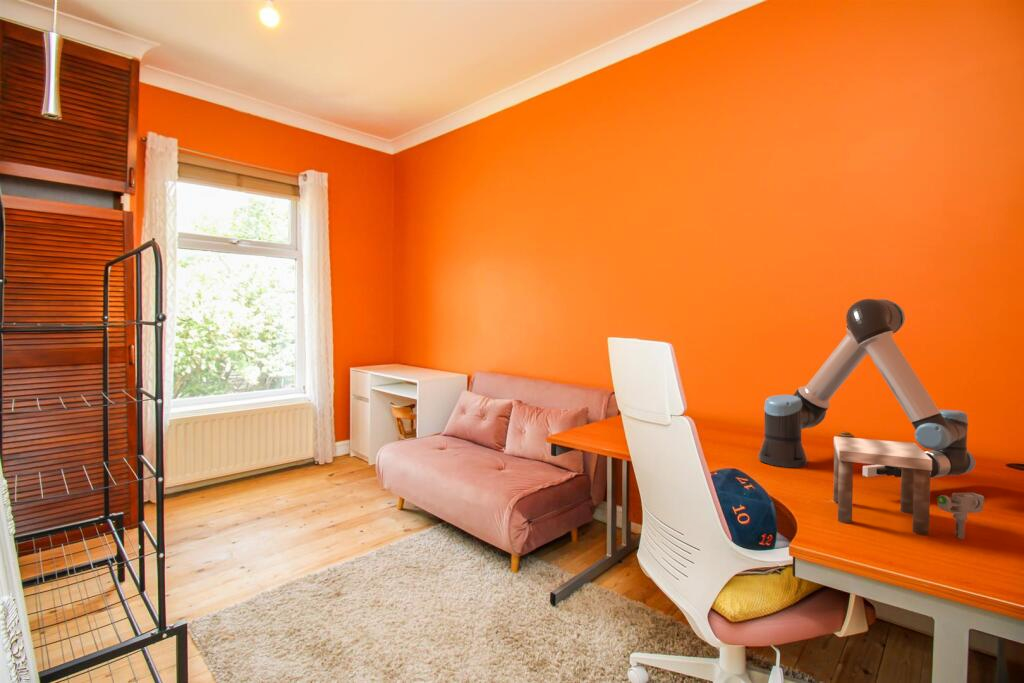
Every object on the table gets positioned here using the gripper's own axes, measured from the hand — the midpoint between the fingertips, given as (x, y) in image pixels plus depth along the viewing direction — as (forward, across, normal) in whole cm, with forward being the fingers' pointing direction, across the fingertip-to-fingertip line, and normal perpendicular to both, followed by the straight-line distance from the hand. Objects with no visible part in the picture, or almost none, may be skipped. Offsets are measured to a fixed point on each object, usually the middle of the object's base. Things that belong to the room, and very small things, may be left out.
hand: (865, 471), depth 142 cm
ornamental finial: (-40, +40, -8) cm, 57 cm away
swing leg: (+8, -4, -7) cm, 11 cm away
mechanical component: (+5, -27, -8) cm, 28 cm away
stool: (+10, -12, -7) cm, 17 cm away
